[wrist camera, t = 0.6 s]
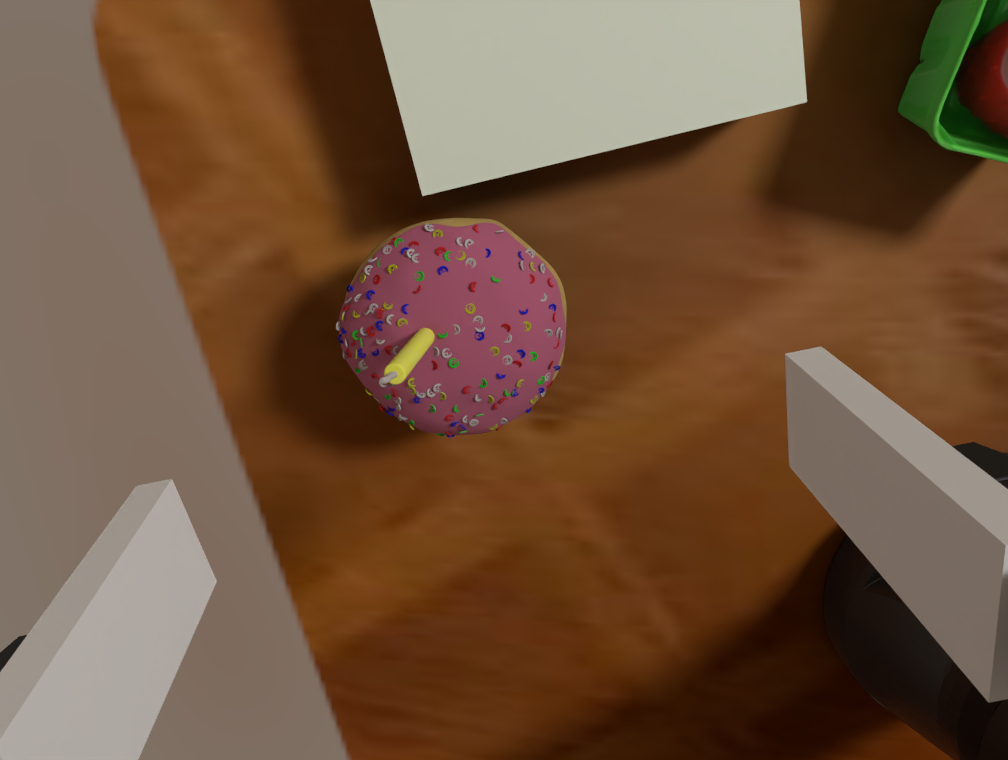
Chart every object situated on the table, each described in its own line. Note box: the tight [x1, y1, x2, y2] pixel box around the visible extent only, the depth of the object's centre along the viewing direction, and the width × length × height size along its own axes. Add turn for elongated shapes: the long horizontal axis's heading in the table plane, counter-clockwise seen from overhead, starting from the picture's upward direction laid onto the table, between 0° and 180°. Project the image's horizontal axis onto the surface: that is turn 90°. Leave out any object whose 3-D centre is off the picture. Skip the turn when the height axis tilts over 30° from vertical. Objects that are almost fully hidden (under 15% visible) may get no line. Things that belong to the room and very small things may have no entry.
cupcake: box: [336, 218, 567, 437], centre depth 26 cm, size 9×8×12 cm
